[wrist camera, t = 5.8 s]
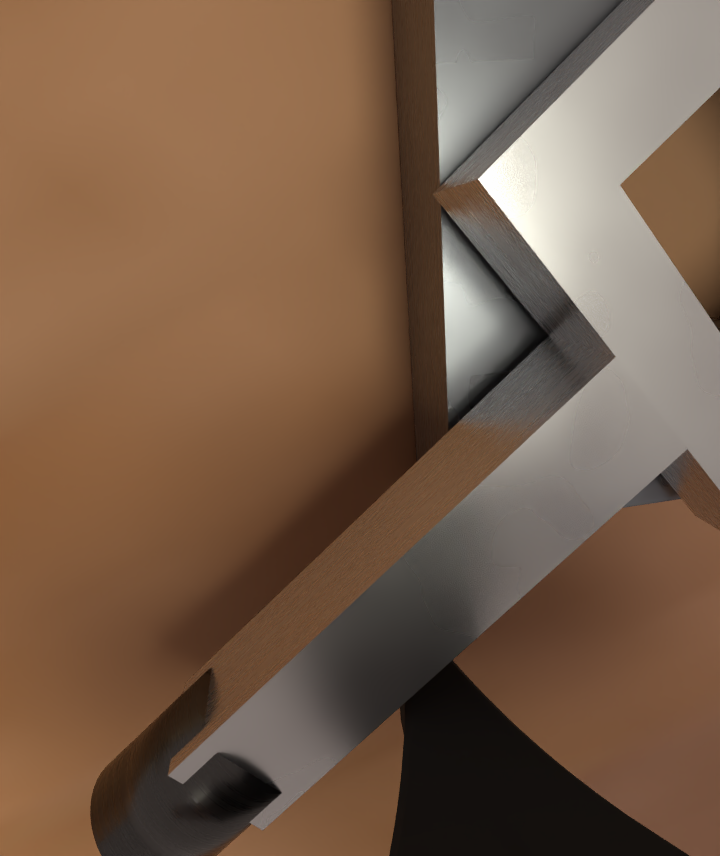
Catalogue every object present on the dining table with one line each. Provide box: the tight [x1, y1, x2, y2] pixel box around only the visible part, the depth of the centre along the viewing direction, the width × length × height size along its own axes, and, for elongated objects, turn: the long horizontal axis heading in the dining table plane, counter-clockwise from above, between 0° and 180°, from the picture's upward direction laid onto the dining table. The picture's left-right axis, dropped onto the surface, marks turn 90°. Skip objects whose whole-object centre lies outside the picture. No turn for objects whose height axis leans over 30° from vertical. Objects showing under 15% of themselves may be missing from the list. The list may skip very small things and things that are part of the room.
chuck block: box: [392, 0, 720, 508], centre depth 10 cm, size 10×10×2 cm
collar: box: [90, 0, 720, 856], centre depth 8 cm, size 17×7×2 cm, turn 134°
